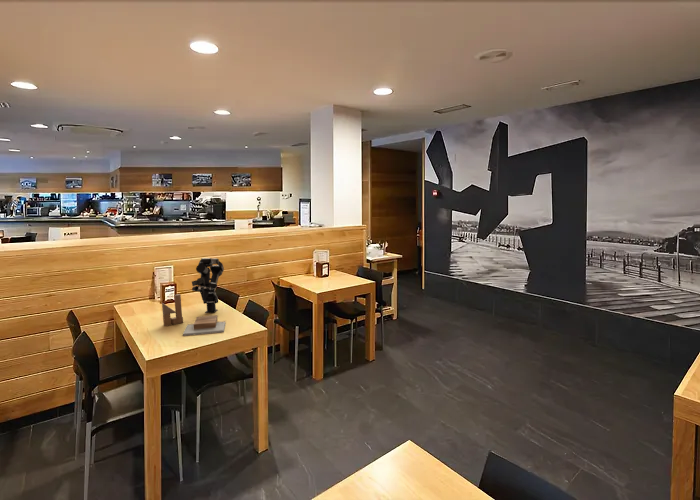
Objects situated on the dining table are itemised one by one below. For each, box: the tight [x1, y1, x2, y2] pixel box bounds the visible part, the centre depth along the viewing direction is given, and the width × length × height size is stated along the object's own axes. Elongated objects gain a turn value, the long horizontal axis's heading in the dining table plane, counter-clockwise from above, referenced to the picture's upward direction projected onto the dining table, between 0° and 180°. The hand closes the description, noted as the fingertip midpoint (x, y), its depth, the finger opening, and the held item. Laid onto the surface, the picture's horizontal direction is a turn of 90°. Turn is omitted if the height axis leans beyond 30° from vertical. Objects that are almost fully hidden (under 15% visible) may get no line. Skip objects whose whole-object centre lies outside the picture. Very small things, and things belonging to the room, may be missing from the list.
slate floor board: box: [182, 320, 227, 337], centre depth 236 cm, size 18×22×1 cm
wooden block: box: [161, 293, 184, 327], centre depth 245 cm, size 4×11×18 cm, turn 127°
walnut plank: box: [193, 315, 219, 329], centre depth 240 cm, size 3×12×14 cm
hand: (203, 300), depth 256 cm, fingers closed
